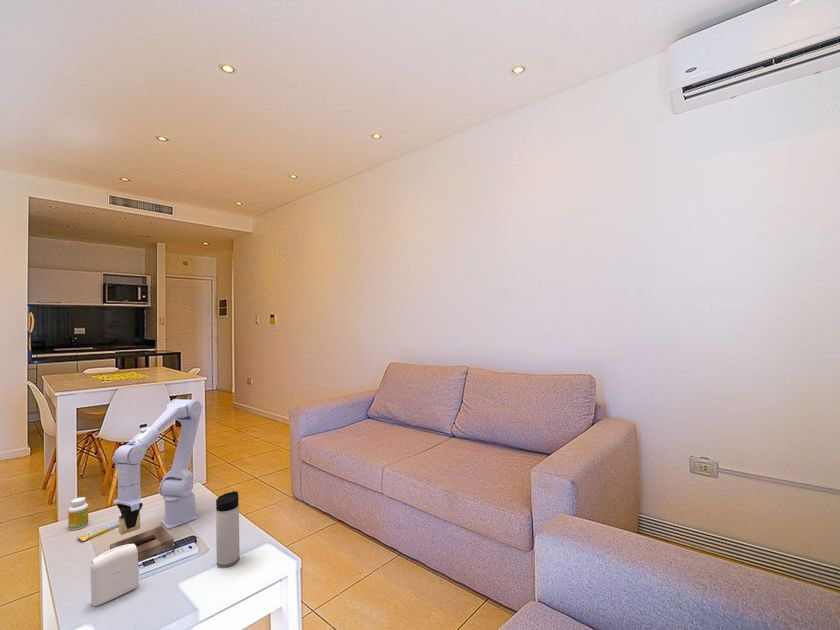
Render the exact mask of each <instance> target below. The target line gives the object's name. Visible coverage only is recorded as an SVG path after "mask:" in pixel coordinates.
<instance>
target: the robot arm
mask: <svg viewBox="0 0 840 630" xmlns="http://www.w3.org/2000/svg"><path fill="white" fill-rule="evenodd" d="M202 410H203V405H202V403H201V402H200V401H199V399H179V398H174V399H172V400H171V401H170V402H169V403H167V405H166V407H165V410H164V411H163V412H162V414H161V415H160V416H159V417H158V418H157V419H156V420H155V421H154V422H153V423H152V424H151V425H150V426H147V427H143V428H141V429H140V430H139V432H138V433H137V434H136V435H135V436H133V438H131V439H130V440H129V441H128V442H127V443H126V444H123V445H121V446H119V447H118V448H117V449H115V451H114V453H113V456H112V457H111V458H112V462H113V463H114V464H115V469H116V470H117V497H118V498H116V499H115V500H113V504H114V505H116V506H117V508H118V509H119V511H120V514H121V515H120V516H122V515H124V519H125V524H126V527H127V529H129V528H132V527H135V525H136V522H137V517H138V514H139V512H140V511H141V510H142V507H143V503H142V502H140V501H141V498H142V494H141V462H142V461H143V460H144V458H145V455H146V453H147V451H148V449H149V448H150V447H151V446H152V445H153V444H155V442H156V441H158V439H159V438H160V434H159V433H161V431H163V430H164V429H165V428H166V427H168V426H169V425H170V424H171V423H172V422H174V420H177V421H178V422H179V423H180V424H181V428H180V433H179V436H178V441H177V445H176V449H175V453H174V457H173V460H172V465H171V469H170V470H169V471H167V472H166V473H164V474H163V475H164V476H163V479H162V481H161V482H160V484H159V487H158V494H159V495H160V496H161V497H162V499H163V500H164V519H162V520H160V522H161V524H162V526H164V527H165V528H166V529H167V530H171V529H172V528H175V527H178V526H180V525H183V524H186V523H189V522H192V521H194V520H197V518H198V516H197V499H196V495H195V493H194V492H192V491H193V489H194V474H193V473H192V472H191V471H190V470H189V469H190V468H189V466H190V463H191V458H192V455H193V449H194V445H195V441H196V437H197V432H198V427H199V422H200V420H201V414H202ZM140 513H141V512H140Z"/></svg>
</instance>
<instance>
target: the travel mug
mask: <svg viewBox="0 0 840 630" xmlns="http://www.w3.org/2000/svg"><path fill="white" fill-rule="evenodd" d="M239 498H240V497H239V491H236V490H235V491H234V490H232V491H231V492H226V493H224V494H222V495H219V496H218V497H217V498H216V500H215V506H216V507H215V525H216V526H215V529H216V530H215V531H216V533H215V534H216V535H215V536H216V537H215V539H216V543H215V544H216V566H217V567H219V568H223V569H225V568H230V567H232V566H234V565H235V564H237V563H238V562H239V560H240V553H241V552H240V551H241V550H240V506H239V505H240V503H239Z"/></svg>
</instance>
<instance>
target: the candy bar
mask: <svg viewBox="0 0 840 630" xmlns="http://www.w3.org/2000/svg"><path fill="white" fill-rule="evenodd" d="M117 528H119V520H117V521H114V522H112V523H109V524H106V525H105V526H102V527H100V528H97V529H94V530H92V531H89V532H87V533H84V534H82V535H81V536H76V538H77V539H79V540H80V541H81V542H85V541H88V540H91V539H94V538H96V537H98V536H100V535H103V534H106V533H108V532H110V531H112V530H115V529H117Z"/></svg>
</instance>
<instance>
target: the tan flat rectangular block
mask: <svg viewBox="0 0 840 630" xmlns="http://www.w3.org/2000/svg"><path fill="white" fill-rule="evenodd" d="M118 521H119V527H118V532H119V534H120V536H124V535H125V534H128V533H131V532H134V531H137V530H140V529H141V512H139V514H138V517H137V522H136V525H135V527H132V528H129V529H127V527H126V524H125V519H124V515H119V516H118Z"/></svg>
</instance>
